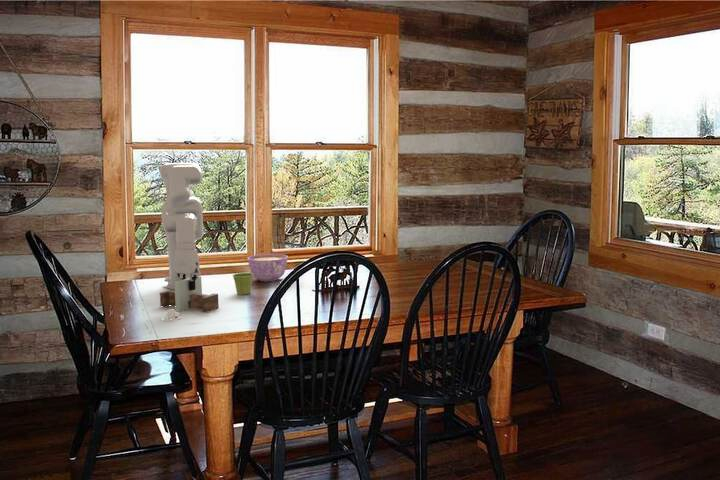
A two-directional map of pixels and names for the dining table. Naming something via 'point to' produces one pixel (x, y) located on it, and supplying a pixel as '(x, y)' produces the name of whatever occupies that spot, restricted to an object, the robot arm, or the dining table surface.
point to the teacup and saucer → (172, 314)
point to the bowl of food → (267, 266)
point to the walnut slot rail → (197, 300)
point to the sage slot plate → (185, 292)
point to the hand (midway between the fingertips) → (188, 289)
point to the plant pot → (243, 283)
